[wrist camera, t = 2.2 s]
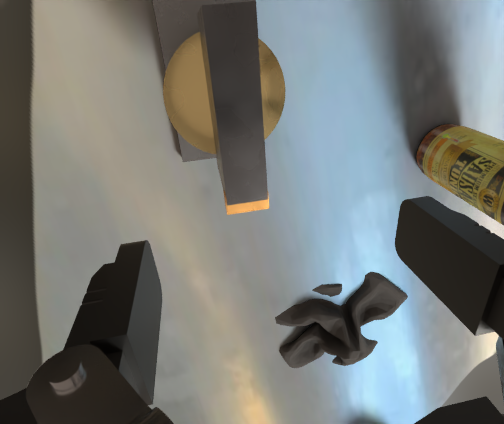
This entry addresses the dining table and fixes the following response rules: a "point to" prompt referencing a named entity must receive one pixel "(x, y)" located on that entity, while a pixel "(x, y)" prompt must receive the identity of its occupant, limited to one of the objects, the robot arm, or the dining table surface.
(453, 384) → the dining table surface
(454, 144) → the sauce bottle
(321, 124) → the dining table surface
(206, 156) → the grey base fixture
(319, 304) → the cloth
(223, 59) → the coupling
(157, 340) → the robot arm
